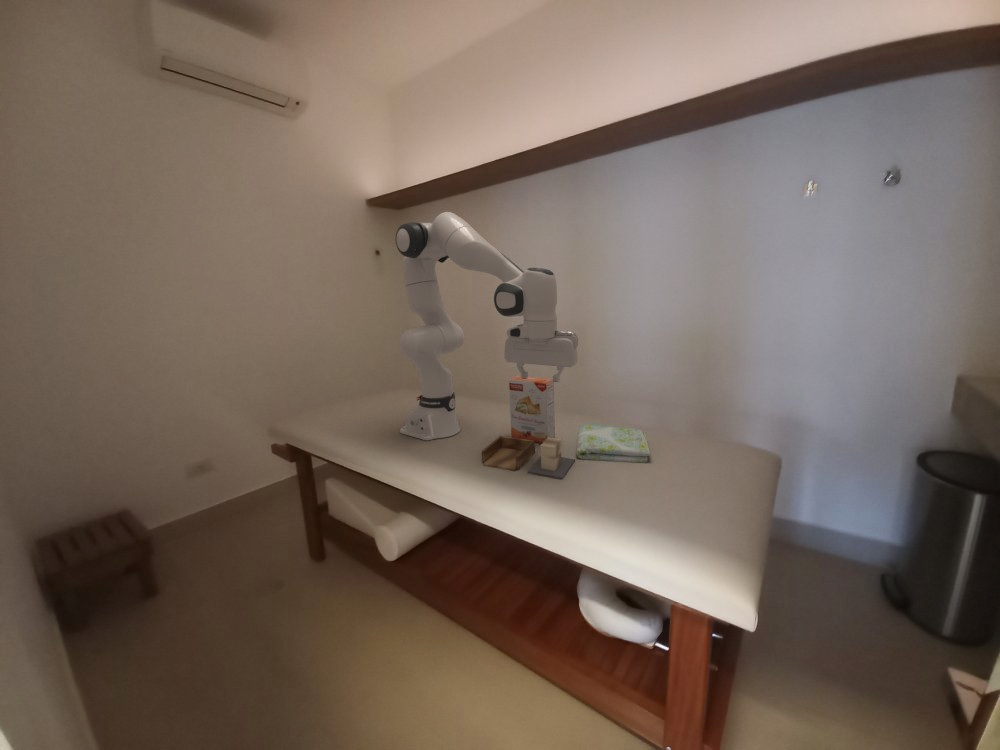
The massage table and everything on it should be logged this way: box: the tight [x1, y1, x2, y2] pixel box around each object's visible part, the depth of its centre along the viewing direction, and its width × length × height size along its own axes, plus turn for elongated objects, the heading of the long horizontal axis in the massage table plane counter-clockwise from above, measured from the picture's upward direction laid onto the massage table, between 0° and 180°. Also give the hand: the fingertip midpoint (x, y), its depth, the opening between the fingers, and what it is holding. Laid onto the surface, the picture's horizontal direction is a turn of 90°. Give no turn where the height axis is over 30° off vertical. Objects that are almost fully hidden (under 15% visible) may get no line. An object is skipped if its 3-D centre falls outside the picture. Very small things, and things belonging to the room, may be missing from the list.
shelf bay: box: [481, 435, 536, 472], centre depth 120 cm, size 12×14×4 cm
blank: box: [540, 437, 562, 471], centre depth 112 cm, size 6×4×7 cm, turn 154°
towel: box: [575, 423, 651, 463], centre depth 123 cm, size 18×21×5 cm
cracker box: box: [508, 375, 556, 444], centre depth 132 cm, size 14×6×21 cm, turn 57°
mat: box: [527, 456, 576, 480], centre depth 113 cm, size 10×12×1 cm
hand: (540, 380), depth 110 cm, fingers open, 8 cm apart
